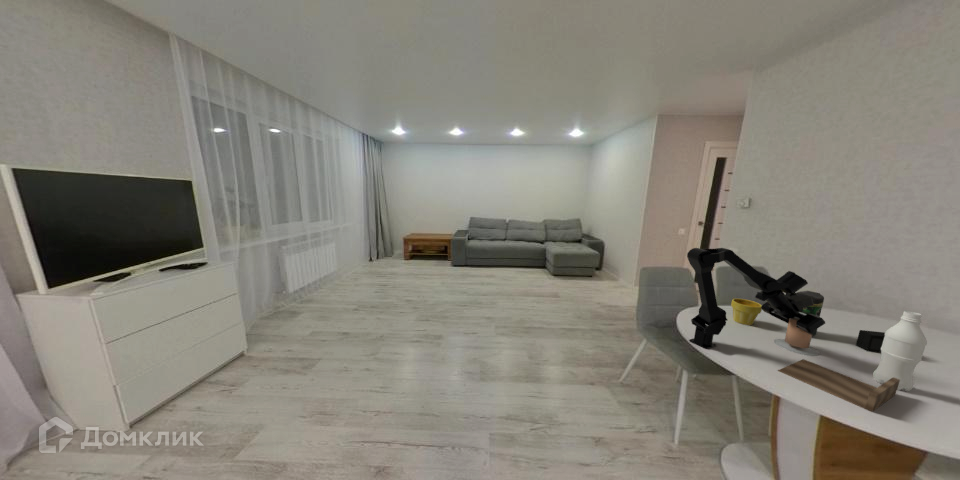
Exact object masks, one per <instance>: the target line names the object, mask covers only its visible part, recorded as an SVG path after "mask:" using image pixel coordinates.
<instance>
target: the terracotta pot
mask: <svg viewBox="0 0 960 480" xmlns="http://www.w3.org/2000/svg"><path fill="white" fill-rule="evenodd" d="M797 321H798V319H796V318H793V319H789V323H787V329H786V332H785V338H784V339H785V342H786V343H788V344H790V345H793V346H796V347H800V348H809V347H811V346H810V345H811V342H812V337H813V336H812V335H811V334H809V333H807V332H805V331H803V330H801V329H799V328H797V327H796V326H797V325H796V322H797Z"/></svg>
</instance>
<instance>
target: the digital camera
mask: <svg viewBox="0 0 960 480" xmlns="http://www.w3.org/2000/svg"><path fill="white" fill-rule="evenodd" d="M884 337H885V332H884V331H876V330H875V331H874V330H863V329H860V330H859V332H858V336H857V339H856V343H855V347H858V348H860V349H862V350H864V351H866V352H871V353H878V354H881V347H882V344H883V340H884Z"/></svg>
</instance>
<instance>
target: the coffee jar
mask: <svg viewBox="0 0 960 480" xmlns="http://www.w3.org/2000/svg"><path fill="white" fill-rule="evenodd" d="M796 293H802V294H805V295H808V296H811V297H812V300H813V303H814V305H813V306H808V307H805V308H802V309H803V311H802V312H799V313H801V314H803V315H807V314H813V315H816V316H818V317H821V313H822V309H823V306H824V305H823V304H824V301H825V297H824V296H823V294H821V292H815V291H811V290H803V291H797V292H796ZM814 331H815V334H813V335H812V337H814V336H815V335H817V332H818V328H817V329H816V330H814Z"/></svg>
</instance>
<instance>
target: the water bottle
mask: <svg viewBox="0 0 960 480" xmlns="http://www.w3.org/2000/svg"><path fill="white" fill-rule="evenodd" d="M922 316H923V314H921V313H919V312H914V311H910V310H904V311H903V313H902V315H901V316H900V321H898V323H896V324H894V325H892V326H891V327H889V328H888V329H887V330H885V332H884V333H885V337H884V340H883V344H882V347H881V353H880V354H881V358H880V362H879V364H878V366H877V367H876V369H875V370H874V371H873V374H872V378H873V381H875V382H876V383H878V384H881V385H882V384H884V383H885V382H887V381H888V380H890V379H891V378H893V377H894V378H897V379H899V380H900V382H899V385H898V388H897V391H901V390H902V391H904V392H910V391H911V390H912V389H913V388H914V385H915V382H914V373H915V369H916V367H917V365H918V364H919V363H921V362H922V361H923V359H922V358H923V355H924V351H925V349H926V346H927V344H928V340H927V337H926V335H925V333H924V332H923V330H922V329H921V326H920V325H921V323H922Z"/></svg>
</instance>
